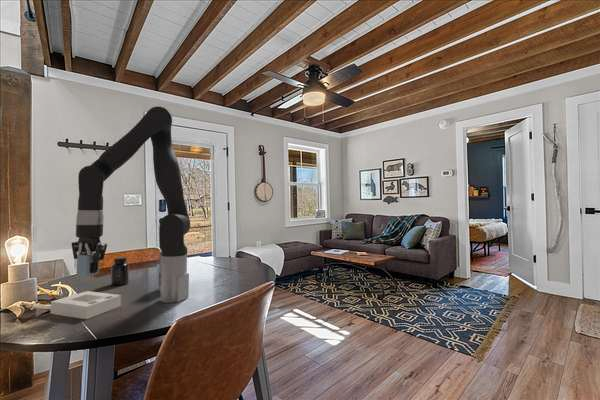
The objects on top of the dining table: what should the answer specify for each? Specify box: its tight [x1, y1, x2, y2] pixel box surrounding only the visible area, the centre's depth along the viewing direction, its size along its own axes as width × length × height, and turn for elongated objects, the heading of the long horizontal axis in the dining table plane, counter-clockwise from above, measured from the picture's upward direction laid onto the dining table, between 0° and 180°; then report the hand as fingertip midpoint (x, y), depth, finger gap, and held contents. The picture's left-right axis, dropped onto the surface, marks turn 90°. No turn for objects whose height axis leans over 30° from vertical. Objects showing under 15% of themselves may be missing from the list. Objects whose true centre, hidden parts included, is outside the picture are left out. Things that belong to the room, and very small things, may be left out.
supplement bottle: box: [110, 256, 130, 287], centre depth 127 cm, size 7×7×12 cm
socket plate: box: [50, 290, 122, 320], centre depth 95 cm, size 16×12×4 cm
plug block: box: [75, 252, 101, 278], centre depth 96 cm, size 4×4×9 cm
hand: (88, 271), depth 95 cm, fingers closed on plug block, 4 cm apart
